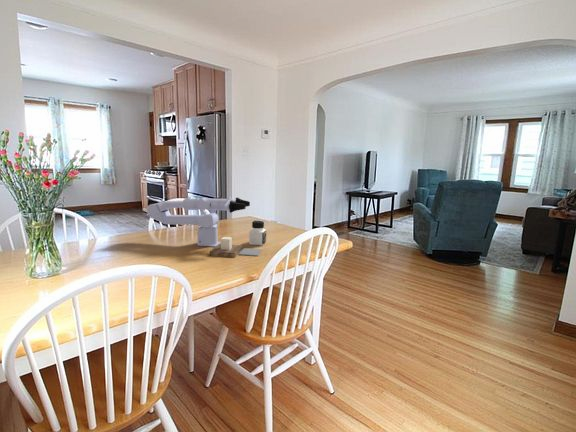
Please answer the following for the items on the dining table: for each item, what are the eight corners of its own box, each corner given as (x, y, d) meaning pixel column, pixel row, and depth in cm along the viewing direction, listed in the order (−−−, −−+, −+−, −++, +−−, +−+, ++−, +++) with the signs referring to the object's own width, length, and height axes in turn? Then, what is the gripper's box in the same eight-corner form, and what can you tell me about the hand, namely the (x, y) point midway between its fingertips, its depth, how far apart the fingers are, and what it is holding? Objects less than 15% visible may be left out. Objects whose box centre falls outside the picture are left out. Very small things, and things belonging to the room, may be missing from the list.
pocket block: (209, 255, 143) (209, 251, 142) (218, 247, 155) (218, 243, 154) (235, 257, 141) (235, 252, 141) (242, 249, 153) (242, 245, 153)
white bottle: (262, 245, 160) (262, 222, 158) (249, 244, 162) (249, 221, 159) (266, 242, 167) (266, 220, 165) (253, 241, 168) (253, 219, 166)
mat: (238, 254, 145) (238, 253, 145) (243, 249, 154) (243, 248, 153) (257, 256, 144) (257, 255, 144) (261, 250, 153) (261, 249, 152)
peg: (221, 253, 146) (220, 238, 145) (223, 250, 150) (223, 236, 149) (229, 254, 146) (229, 239, 144) (232, 251, 150) (231, 237, 148)
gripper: (214, 198, 147) (242, 199, 145) (225, 194, 161) (251, 194, 159) (215, 213, 149) (243, 214, 147) (226, 207, 163) (251, 208, 161)
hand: (247, 205), depth 153 cm, fingers open, 7 cm apart
